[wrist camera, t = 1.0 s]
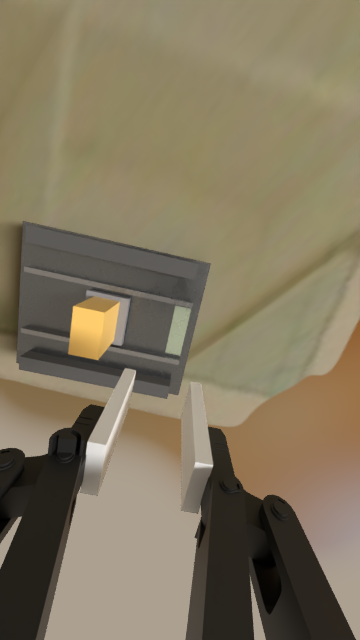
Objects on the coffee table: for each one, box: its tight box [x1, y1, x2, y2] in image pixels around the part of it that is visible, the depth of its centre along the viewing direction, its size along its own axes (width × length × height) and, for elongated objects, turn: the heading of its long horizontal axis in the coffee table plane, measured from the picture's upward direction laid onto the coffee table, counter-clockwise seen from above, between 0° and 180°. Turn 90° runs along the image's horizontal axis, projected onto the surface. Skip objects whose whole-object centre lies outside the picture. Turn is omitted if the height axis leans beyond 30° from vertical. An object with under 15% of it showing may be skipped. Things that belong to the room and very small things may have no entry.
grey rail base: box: [16, 221, 210, 395], centre depth 31 cm, size 18×22×5 cm
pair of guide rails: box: [19, 225, 199, 399], centre depth 29 cm, size 17×19×2 cm
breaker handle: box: [68, 289, 131, 360], centre depth 26 cm, size 6×5×7 cm
